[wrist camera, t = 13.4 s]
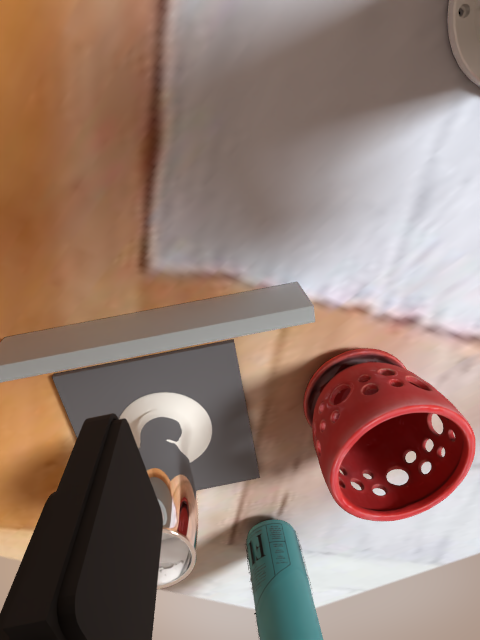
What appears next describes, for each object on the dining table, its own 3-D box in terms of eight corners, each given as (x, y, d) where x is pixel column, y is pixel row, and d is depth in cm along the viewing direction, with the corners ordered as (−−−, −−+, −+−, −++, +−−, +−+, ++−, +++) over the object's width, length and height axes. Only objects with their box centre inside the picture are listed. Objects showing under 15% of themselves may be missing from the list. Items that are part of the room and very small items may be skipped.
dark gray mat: (233, 339, 43) (234, 342, 42) (259, 473, 50) (260, 478, 50) (53, 373, 42) (51, 377, 42) (106, 504, 50) (105, 509, 49)
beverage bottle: (254, 503, 52) (286, 704, 34) (303, 513, 54) (359, 710, 36) (235, 540, 55) (257, 747, 36) (283, 548, 56) (327, 750, 38)
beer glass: (174, 466, 48) (167, 602, 34) (117, 440, 46) (86, 574, 32) (209, 422, 46) (217, 547, 32) (152, 393, 44) (135, 514, 30)
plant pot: (296, 444, 49) (325, 534, 38) (297, 342, 44) (331, 413, 33) (406, 432, 50) (466, 517, 39) (421, 331, 45) (494, 397, 34)
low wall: (297, 281, 41) (313, 305, 36) (299, 296, 42) (315, 321, 36) (4, 337, 40) (-25, 370, 35) (10, 351, 41) (-17, 385, 36)
